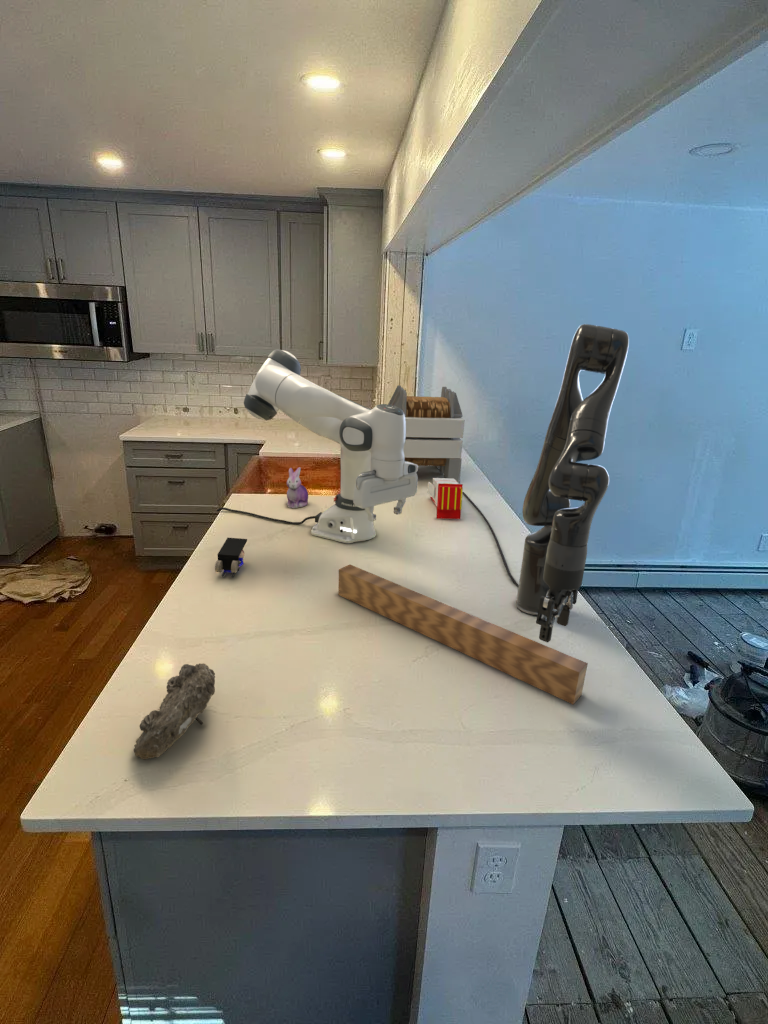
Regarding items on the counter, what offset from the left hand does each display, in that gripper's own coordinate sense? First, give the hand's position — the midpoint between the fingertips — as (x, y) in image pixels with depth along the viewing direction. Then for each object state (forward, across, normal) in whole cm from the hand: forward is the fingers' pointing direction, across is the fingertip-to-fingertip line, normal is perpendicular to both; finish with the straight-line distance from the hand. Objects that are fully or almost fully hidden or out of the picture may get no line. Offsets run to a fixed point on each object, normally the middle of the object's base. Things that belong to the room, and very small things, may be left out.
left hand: (384, 517), depth 154 cm
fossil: (+22, -66, -18) cm, 72 cm away
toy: (+21, +66, +37) cm, 79 cm away
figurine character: (+21, -28, +35) cm, 50 cm away
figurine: (+21, +20, +73) cm, 78 cm away
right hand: (+9, -2, -55) cm, 55 cm away
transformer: (+21, +94, +78) cm, 124 cm away
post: (+22, -5, -29) cm, 36 cm away
